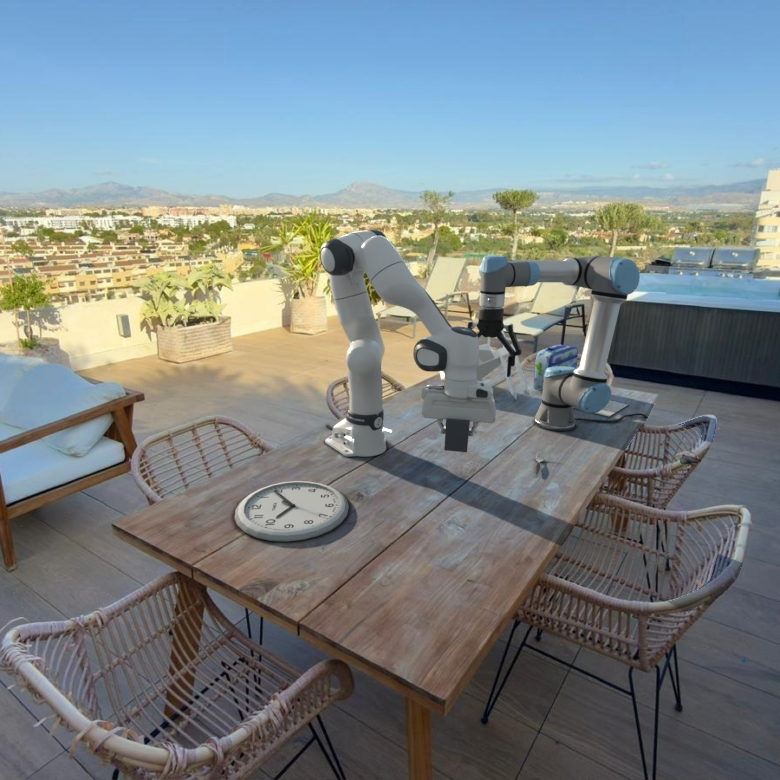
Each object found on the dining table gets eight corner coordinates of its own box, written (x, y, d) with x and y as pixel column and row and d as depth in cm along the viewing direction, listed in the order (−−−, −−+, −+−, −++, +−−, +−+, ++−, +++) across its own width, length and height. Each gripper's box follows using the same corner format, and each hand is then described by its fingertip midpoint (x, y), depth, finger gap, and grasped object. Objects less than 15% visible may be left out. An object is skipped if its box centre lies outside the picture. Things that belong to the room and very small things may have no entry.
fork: (531, 475, 162) (532, 469, 161) (536, 455, 176) (537, 450, 175) (540, 476, 161) (541, 471, 160) (544, 456, 175) (545, 451, 175)
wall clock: (349, 533, 127) (222, 537, 124) (349, 539, 127) (223, 543, 125) (348, 477, 155) (245, 479, 153) (348, 481, 156) (245, 484, 153)
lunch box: (550, 397, 237) (555, 352, 231) (529, 391, 245) (533, 348, 238) (577, 386, 255) (582, 344, 249) (556, 381, 262) (561, 340, 256)
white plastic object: (461, 429, 252) (437, 405, 227) (444, 352, 274) (420, 323, 250) (535, 404, 240) (518, 377, 215) (510, 326, 262) (492, 293, 237)
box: (450, 417, 170) (452, 391, 167) (470, 418, 169) (472, 392, 166) (444, 450, 144) (446, 420, 142) (466, 452, 143) (469, 422, 141)
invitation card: (608, 416, 214) (573, 407, 224) (608, 416, 214) (573, 408, 224) (628, 404, 229) (594, 396, 238) (628, 405, 229) (594, 397, 238)
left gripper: (420, 387, 141) (418, 435, 145) (498, 393, 137) (493, 441, 141) (423, 381, 147) (421, 427, 151) (497, 386, 143) (493, 433, 147)
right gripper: (449, 306, 162) (446, 372, 169) (531, 311, 154) (525, 380, 160) (455, 303, 169) (452, 366, 175) (534, 308, 160) (528, 374, 167)
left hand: (457, 434), depth 146 cm, fingers closed on box, 6 cm apart
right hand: (487, 373), depth 168 cm, fingers open, 13 cm apart
